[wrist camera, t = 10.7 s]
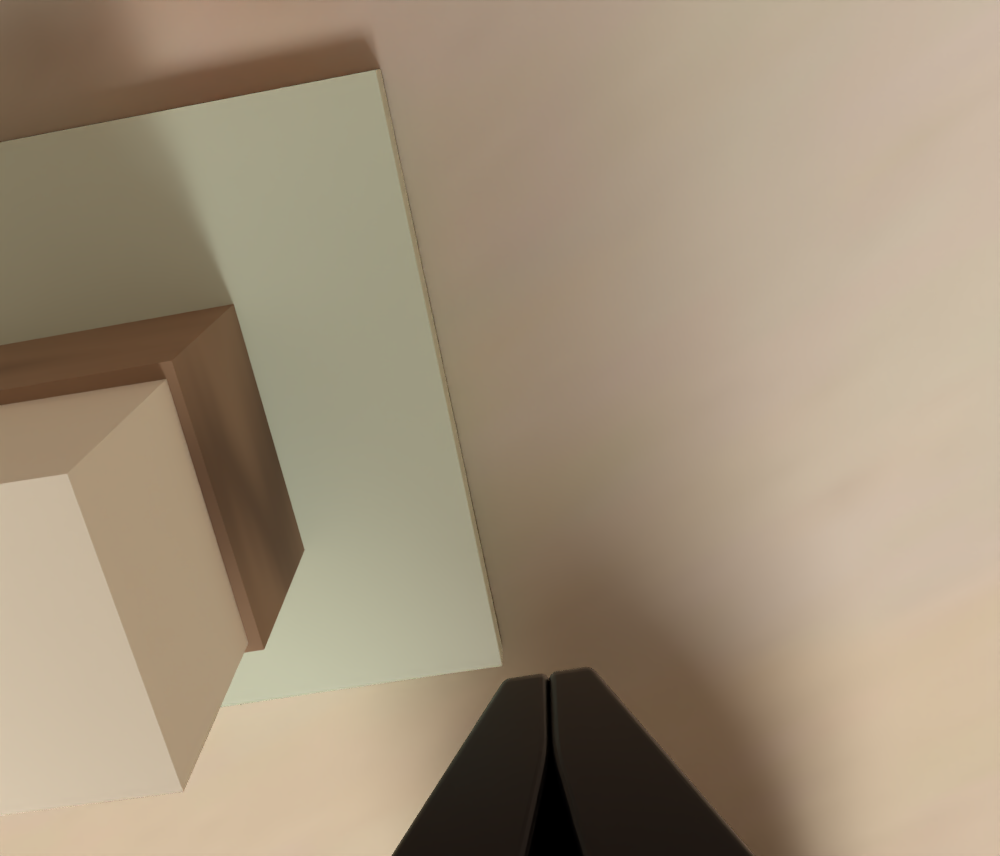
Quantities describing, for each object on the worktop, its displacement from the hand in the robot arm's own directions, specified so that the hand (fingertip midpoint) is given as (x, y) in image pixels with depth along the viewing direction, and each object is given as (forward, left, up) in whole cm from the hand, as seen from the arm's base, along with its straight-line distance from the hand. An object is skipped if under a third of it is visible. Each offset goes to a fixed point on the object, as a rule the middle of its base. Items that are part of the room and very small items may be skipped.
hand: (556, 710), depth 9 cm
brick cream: (-1, +9, -8) cm, 12 cm away
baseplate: (-1, +9, -13) cm, 16 cm away
